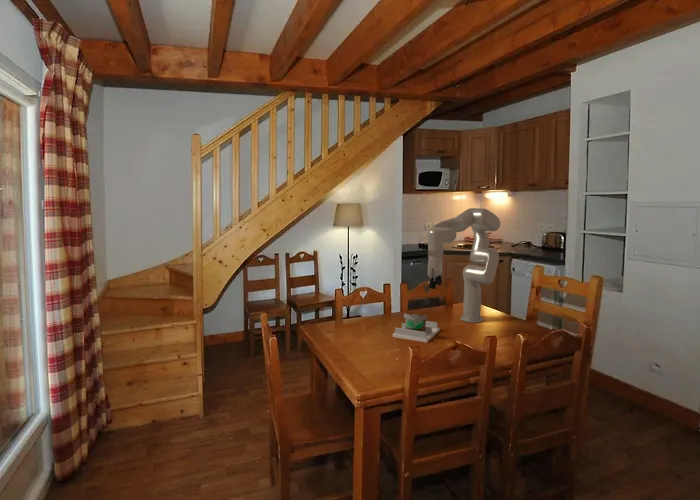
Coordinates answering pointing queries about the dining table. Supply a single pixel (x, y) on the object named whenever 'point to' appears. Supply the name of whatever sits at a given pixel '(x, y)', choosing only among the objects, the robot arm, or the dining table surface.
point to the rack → (417, 332)
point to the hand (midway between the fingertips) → (435, 286)
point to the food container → (415, 322)
